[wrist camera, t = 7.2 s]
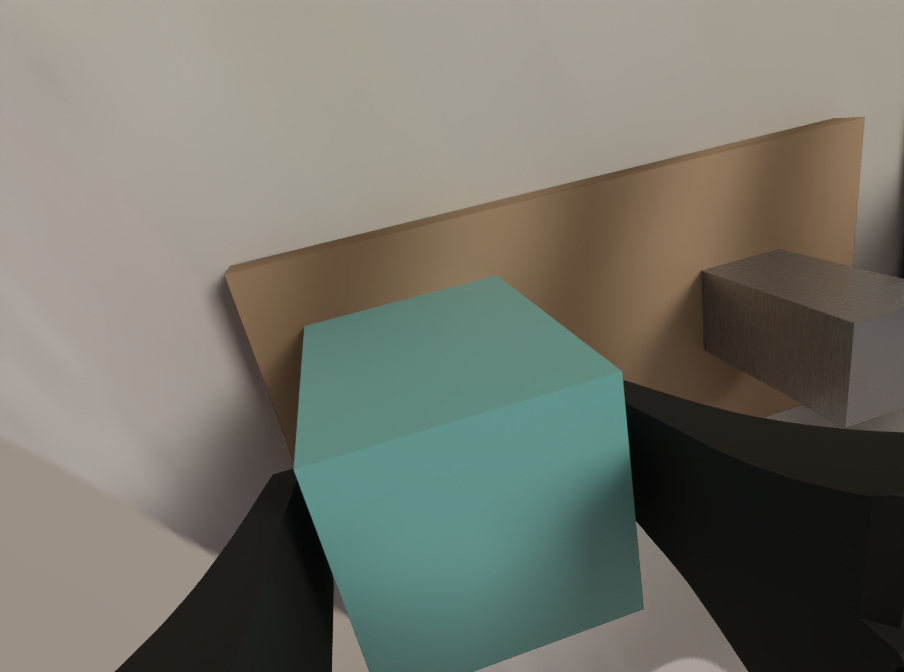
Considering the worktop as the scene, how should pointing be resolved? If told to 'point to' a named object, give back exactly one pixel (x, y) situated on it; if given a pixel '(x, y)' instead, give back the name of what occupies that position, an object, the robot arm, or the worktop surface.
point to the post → (810, 331)
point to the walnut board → (586, 260)
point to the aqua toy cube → (466, 477)
